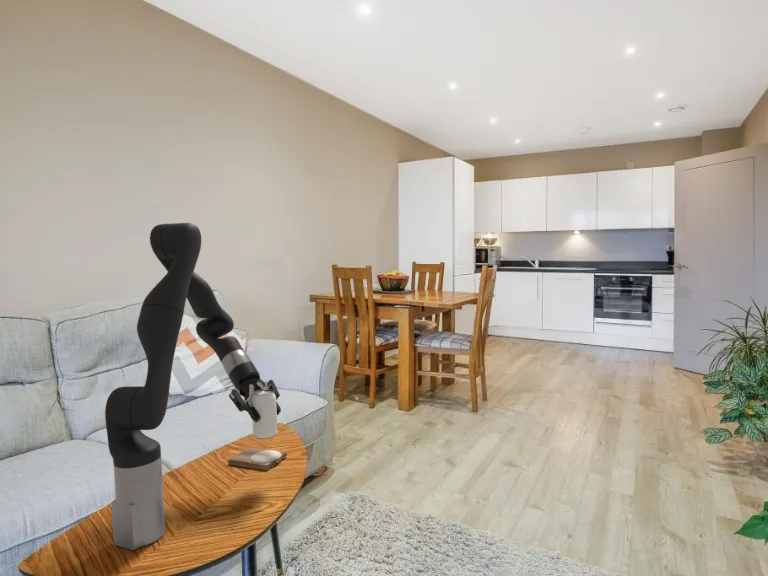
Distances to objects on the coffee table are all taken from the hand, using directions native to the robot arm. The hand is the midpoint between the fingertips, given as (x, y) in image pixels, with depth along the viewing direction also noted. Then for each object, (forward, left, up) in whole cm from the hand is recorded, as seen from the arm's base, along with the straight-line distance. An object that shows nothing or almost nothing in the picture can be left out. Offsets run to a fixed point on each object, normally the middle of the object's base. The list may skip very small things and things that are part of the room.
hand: (268, 416), depth 127 cm
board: (+10, +13, -18) cm, 24 cm away
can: (0, +2, -6) cm, 6 cm away
